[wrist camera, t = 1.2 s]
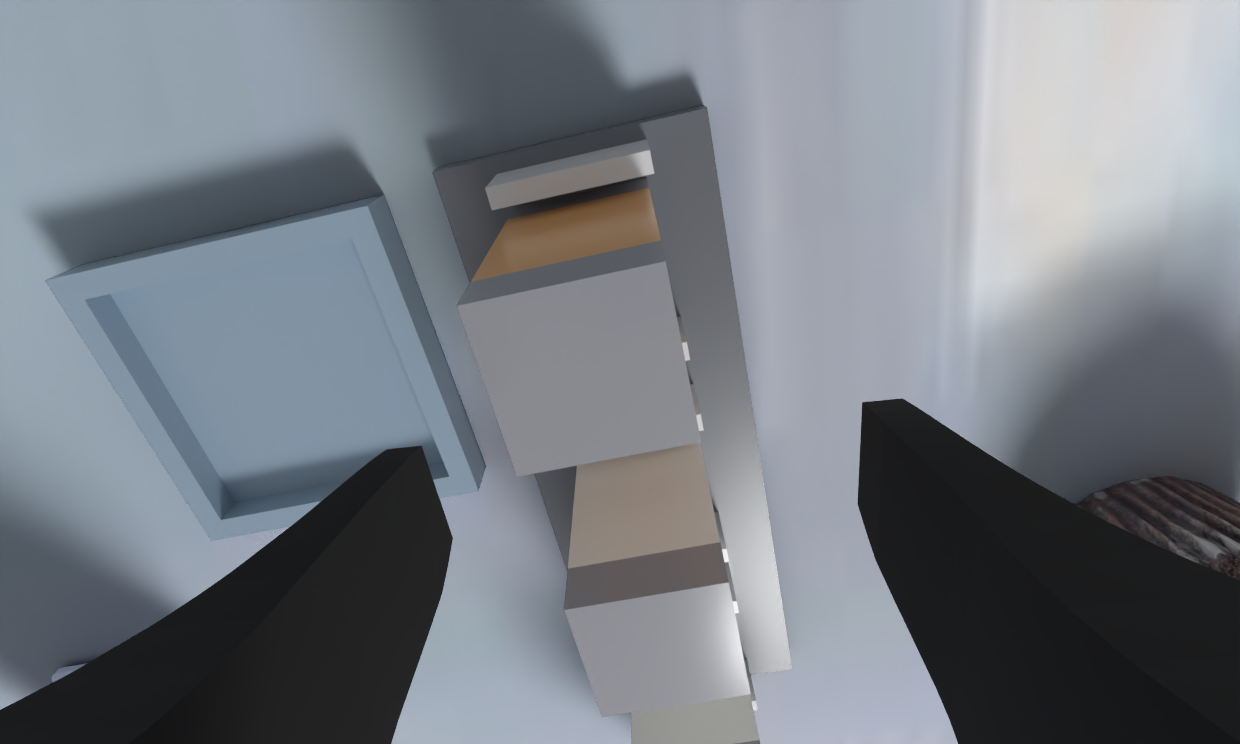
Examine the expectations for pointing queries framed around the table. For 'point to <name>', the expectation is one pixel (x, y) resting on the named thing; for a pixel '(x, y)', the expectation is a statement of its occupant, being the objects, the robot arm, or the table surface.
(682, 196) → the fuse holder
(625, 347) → the block
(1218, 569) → the cupcake
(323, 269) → the tray
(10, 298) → the table surface
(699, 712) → the block
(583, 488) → the block
